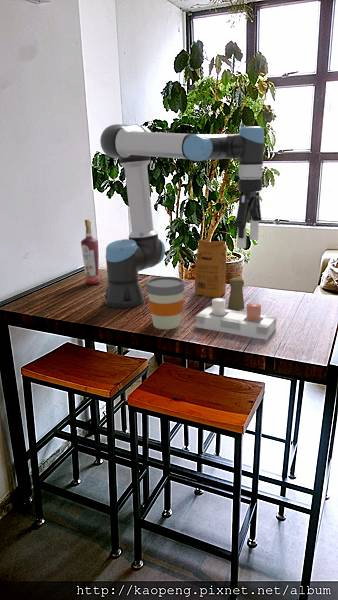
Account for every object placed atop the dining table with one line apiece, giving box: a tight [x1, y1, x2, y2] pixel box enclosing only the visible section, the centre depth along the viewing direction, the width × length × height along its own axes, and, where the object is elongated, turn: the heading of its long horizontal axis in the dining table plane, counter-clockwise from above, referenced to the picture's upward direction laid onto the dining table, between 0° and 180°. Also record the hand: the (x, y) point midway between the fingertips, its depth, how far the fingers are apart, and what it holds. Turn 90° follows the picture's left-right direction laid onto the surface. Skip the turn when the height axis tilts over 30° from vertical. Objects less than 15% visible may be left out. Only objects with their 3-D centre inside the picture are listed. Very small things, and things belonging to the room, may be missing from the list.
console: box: [195, 305, 277, 340], centre depth 148 cm, size 24×10×4 cm, turn 61°
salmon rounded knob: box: [246, 302, 262, 321], centre depth 143 cm, size 4×4×4 cm
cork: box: [227, 277, 245, 311], centre depth 165 cm, size 6×6×11 cm
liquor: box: [80, 218, 101, 286], centre depth 196 cm, size 7×7×28 cm
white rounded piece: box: [211, 297, 227, 315], centre depth 149 cm, size 4×4×4 cm
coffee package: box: [194, 238, 227, 298], centre depth 179 cm, size 10×12×22 cm
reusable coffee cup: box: [146, 276, 186, 330], centre depth 150 cm, size 13×13×15 cm
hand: (247, 243), depth 152 cm, fingers open, 13 cm apart
